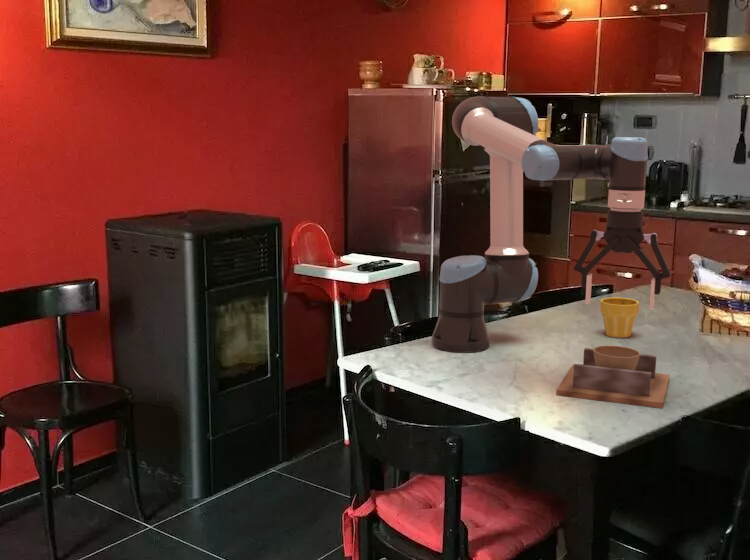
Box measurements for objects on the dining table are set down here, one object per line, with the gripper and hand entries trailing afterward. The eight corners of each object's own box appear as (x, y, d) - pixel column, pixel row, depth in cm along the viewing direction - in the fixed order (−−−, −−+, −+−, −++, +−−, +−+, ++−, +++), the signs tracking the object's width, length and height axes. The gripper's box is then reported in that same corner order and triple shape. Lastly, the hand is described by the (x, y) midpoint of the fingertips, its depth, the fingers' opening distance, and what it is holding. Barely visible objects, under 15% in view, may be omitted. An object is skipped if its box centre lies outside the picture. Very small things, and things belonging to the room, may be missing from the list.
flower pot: (613, 391, 185) (615, 359, 184) (582, 378, 194) (583, 348, 192) (647, 385, 190) (649, 353, 188) (615, 373, 198) (617, 343, 197)
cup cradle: (556, 395, 186) (557, 367, 185) (572, 368, 206) (574, 343, 205) (662, 408, 178) (664, 379, 177) (669, 379, 198) (671, 353, 197)
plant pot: (596, 337, 236) (598, 302, 235) (601, 329, 246) (603, 295, 244) (635, 341, 233) (637, 306, 231) (638, 332, 242) (640, 298, 240)
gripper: (564, 208, 186) (559, 304, 190) (686, 214, 177) (678, 314, 180) (570, 205, 193) (565, 297, 196) (687, 210, 183) (680, 307, 187)
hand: (619, 306), depth 188 cm, fingers open, 13 cm apart
